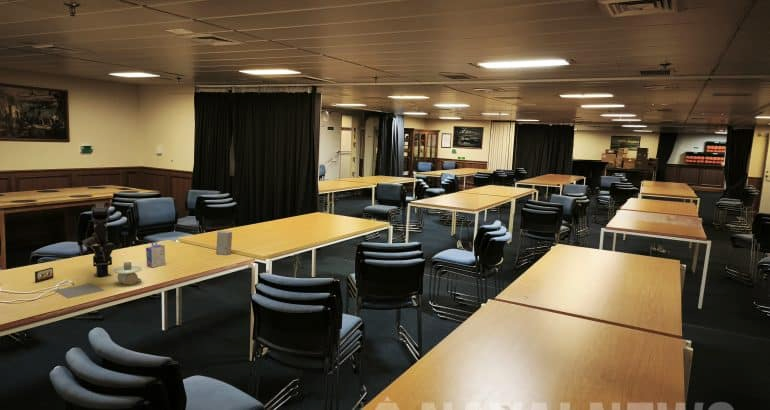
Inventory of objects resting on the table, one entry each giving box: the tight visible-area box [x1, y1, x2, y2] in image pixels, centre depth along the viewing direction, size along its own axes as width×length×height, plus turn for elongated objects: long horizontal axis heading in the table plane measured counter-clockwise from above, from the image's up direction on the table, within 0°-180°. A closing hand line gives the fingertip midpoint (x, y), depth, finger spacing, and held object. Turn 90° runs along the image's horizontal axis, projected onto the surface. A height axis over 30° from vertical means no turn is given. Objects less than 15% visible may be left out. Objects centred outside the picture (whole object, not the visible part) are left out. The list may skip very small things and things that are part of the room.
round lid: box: [113, 261, 142, 274], centre depth 251 cm, size 13×13×4 cm
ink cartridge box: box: [145, 241, 166, 268], centre depth 288 cm, size 10×6×14 cm, turn 155°
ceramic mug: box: [116, 272, 142, 286], centre depth 253 cm, size 11×8×8 cm
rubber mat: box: [54, 282, 106, 299], centre depth 237 cm, size 17×17×1 cm
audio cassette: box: [34, 267, 55, 283], centre depth 251 cm, size 9×1×6 cm, turn 164°
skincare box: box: [215, 230, 233, 256], centre depth 324 cm, size 8×7×16 cm
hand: (101, 260), depth 249 cm, fingers open, 9 cm apart
